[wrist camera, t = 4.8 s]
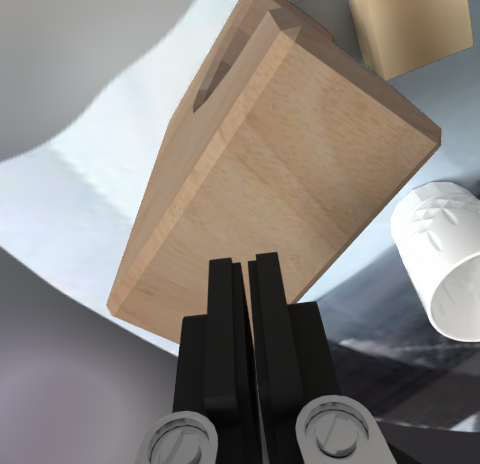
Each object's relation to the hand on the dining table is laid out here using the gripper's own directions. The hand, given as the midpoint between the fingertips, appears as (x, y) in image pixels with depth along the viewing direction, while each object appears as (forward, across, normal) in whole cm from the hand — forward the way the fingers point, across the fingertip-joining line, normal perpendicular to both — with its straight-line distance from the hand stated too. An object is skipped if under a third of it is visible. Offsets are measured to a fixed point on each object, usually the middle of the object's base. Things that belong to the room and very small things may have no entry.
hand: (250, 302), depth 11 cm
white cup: (+23, -15, +13) cm, 30 cm away
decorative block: (+23, -1, 0) cm, 23 cm away
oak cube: (+23, -11, -3) cm, 25 cm away
